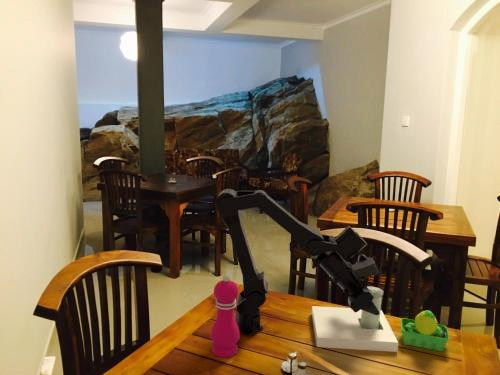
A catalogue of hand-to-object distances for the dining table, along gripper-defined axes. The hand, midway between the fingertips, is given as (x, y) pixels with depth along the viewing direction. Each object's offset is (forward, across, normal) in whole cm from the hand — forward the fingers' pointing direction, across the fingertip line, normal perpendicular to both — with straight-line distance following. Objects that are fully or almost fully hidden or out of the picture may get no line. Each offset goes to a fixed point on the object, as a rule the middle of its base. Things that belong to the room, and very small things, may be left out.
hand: (376, 309), depth 116 cm
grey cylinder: (+3, 0, +5) cm, 6 cm away
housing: (+1, 0, +10) cm, 10 cm away
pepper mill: (-22, -12, +33) cm, 42 cm away
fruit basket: (+14, -4, -3) cm, 14 cm away
